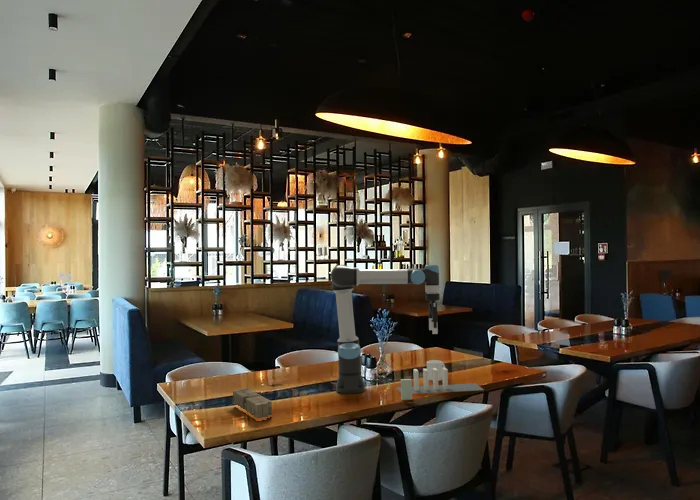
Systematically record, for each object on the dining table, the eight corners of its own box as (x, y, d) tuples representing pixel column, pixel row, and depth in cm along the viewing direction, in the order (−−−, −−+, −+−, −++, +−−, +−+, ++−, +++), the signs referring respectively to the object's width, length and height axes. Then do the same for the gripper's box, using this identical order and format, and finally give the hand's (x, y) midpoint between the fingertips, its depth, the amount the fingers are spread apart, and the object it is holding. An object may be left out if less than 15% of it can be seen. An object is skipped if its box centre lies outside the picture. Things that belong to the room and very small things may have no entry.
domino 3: (425, 390, 270) (425, 370, 270) (423, 388, 275) (422, 368, 275) (428, 390, 270) (428, 370, 270) (426, 387, 275) (425, 368, 275)
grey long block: (273, 421, 233) (248, 403, 258) (273, 402, 233) (248, 386, 258) (256, 424, 229) (232, 406, 254) (256, 405, 229) (232, 389, 254)
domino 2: (415, 391, 269) (415, 371, 269) (413, 388, 274) (413, 369, 274) (418, 390, 270) (418, 371, 270) (416, 388, 275) (416, 368, 275)
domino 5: (445, 389, 271) (444, 369, 271) (442, 387, 276) (442, 367, 276) (448, 389, 271) (447, 369, 271) (445, 386, 276) (445, 367, 276)
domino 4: (435, 390, 270) (434, 370, 270) (433, 387, 275) (432, 368, 275) (438, 389, 270) (437, 370, 270) (436, 387, 275) (435, 368, 275)
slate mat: (401, 395, 264) (401, 394, 264) (396, 388, 278) (396, 387, 278) (484, 391, 268) (484, 390, 268) (475, 384, 282) (475, 383, 282)
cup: (424, 380, 294) (423, 361, 294) (439, 376, 301) (439, 358, 301) (434, 382, 287) (434, 364, 287) (450, 379, 294) (450, 360, 294)
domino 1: (412, 400, 255) (411, 379, 255) (401, 401, 254) (401, 380, 254) (411, 399, 256) (410, 378, 256) (401, 400, 256) (400, 379, 256)
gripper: (442, 294, 279) (443, 335, 279) (436, 291, 304) (437, 328, 304) (428, 295, 279) (429, 335, 279) (422, 291, 304) (423, 328, 304)
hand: (433, 332), depth 291 cm, fingers open, 13 cm apart
